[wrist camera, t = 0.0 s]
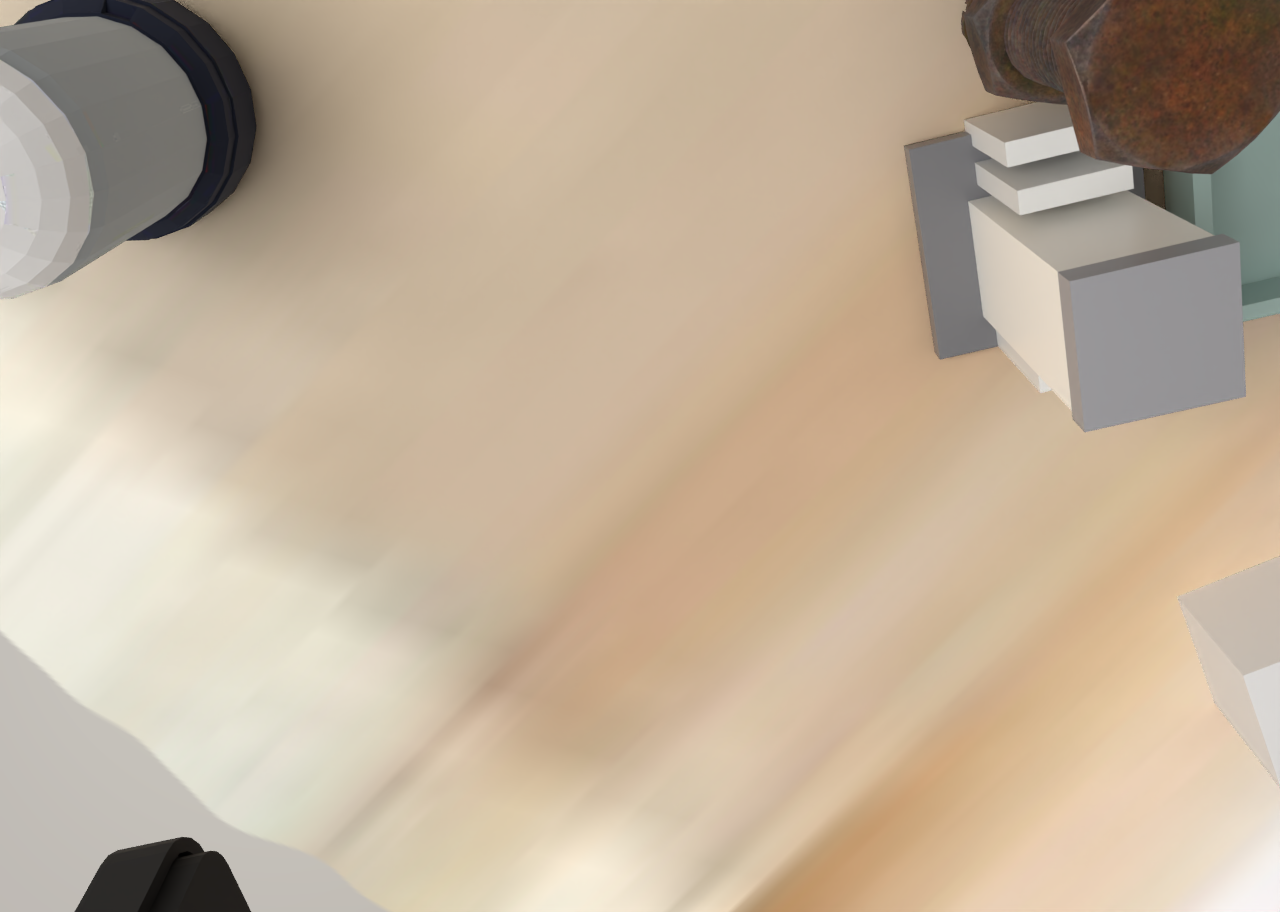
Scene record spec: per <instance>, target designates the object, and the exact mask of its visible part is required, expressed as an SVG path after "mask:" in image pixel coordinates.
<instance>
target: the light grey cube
mask: <svg viewBox="0 0 1280 912" xmlns="http://www.w3.org/2000/svg"><path fill="white" fill-rule="evenodd" d="M1177 598H1178V601H1179V604H1180V607H1181V610H1182V612H1183V615H1184V618H1185V621H1186V624H1187V627H1188V630H1189V632H1190V635H1191V638H1192V641H1193V644H1194V647H1195V649H1196V652H1197V655H1198V658H1199V661H1200V664H1201V666H1202V669H1203V672H1204V675H1205V678H1206V681H1207V684H1208V686H1209V689H1210V692H1211V695H1212V698H1213V701H1214V703H1215V704H1216V706H1217V707H1218V708H1219V710H1220V711H1221V712H1222V713H1223V715H1224V716H1225V717H1226V719H1227V720H1228V721H1229V723H1230V724H1231V725H1232V726H1233V728H1234V729H1235V730H1236V732H1237V733H1238V734H1239V736H1240V737H1241V738H1242V739H1243V741H1244V742H1245V743H1246V745H1247V746H1248V747H1249V749H1250V750H1251V751H1252V753H1253V754H1254V755H1255V756H1256V758H1257V759H1258V760H1259V762H1260V763H1261V764H1262V766H1263V767H1264V768H1265V769H1266V771H1267V772H1268V773H1269V775H1270V776H1271V777H1272V779H1273V780H1274V781H1275V782H1276V784H1277V785H1278V786H1279V788H1280V556H1278V557H1276V558H1273V559H1271V560H1268V561H1266V562H1263V563H1261V564H1258V565H1256V566H1253V567H1251V568H1248V569H1246V570H1243V571H1241V572H1238V573H1235V574H1233V575H1230V576H1228V577H1225V578H1223V579H1220V580H1218V581H1215V582H1213V583H1210V584H1208V585H1205V586H1203V587H1200V588H1198V589H1195V590H1193V591H1190V592H1188V593H1185V594H1183V595H1180V596H1178V597H1177Z"/></svg>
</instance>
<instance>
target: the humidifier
mask: <svg viewBox="0 0 1280 912" xmlns="http://www.w3.org/2000/svg"><path fill="white" fill-rule="evenodd" d="M255 132H256V122H255V115H254V108H253V101H252V94H251V89H250V87H249V85H248V83H247V80H246V78H245V76H244V74H243V72H242V70H241V67H240V65H239V63H238V61H237V59H236V57H235V54H234V53H233V52H232V51H231V49H230V48H229V47H228V46H227V45H226V44H225V42H224V41H223V40H222V39H221V38H220V37H219V35H218V34H217V33H216V32H215V31H214V30H213V28H212V27H211V26H210V25H209V24H208V23H207V22H206V21H204V20H203V19H201V18H200V17H198V16H197V15H195V14H194V13H192V12H191V11H189V10H188V9H186V8H185V7H183V6H182V5H180V4H179V3H177V2H176V1H174V0H50V1H48V2H45V3H43V4H40V5H38V6H36V7H35V8H34V9H32V10H30V11H28V12H27V13H26V14H25V15H24V16H23V17H22V18H21V19H20V20H19V21H17V22H16V23H15V24H14V25H12V26H5V27H0V299H13V298H16V297H19V296H21V295H24V294H27V293H30V292H32V291H35V290H38V289H41V288H43V287H46V286H49V285H51V284H54V283H57V282H60V281H62V280H64V279H65V278H67V277H68V276H70V275H72V274H73V273H75V272H76V271H78V270H80V269H81V268H83V267H84V266H86V265H88V264H89V263H91V262H92V261H94V260H96V259H97V258H99V257H100V256H102V255H104V254H105V253H107V252H108V251H110V250H112V249H113V248H115V247H116V246H118V245H120V244H121V243H123V242H124V241H129V240H150V239H156V238H159V237H162V236H165V235H167V234H170V233H173V232H176V231H178V230H181V229H184V228H186V227H189V226H191V225H192V224H194V223H195V222H197V221H198V220H200V219H201V218H202V217H204V216H205V215H207V214H208V213H210V212H211V211H212V210H213V209H214V208H215V207H217V206H218V205H219V204H220V203H221V202H223V201H224V200H225V199H226V198H227V197H228V196H230V195H231V194H232V193H233V192H234V191H235V189H236V187H237V185H238V184H239V182H240V180H241V178H242V176H243V175H244V173H245V171H246V169H247V167H248V166H249V164H250V162H251V156H252V150H253V144H254V138H255Z"/></svg>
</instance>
